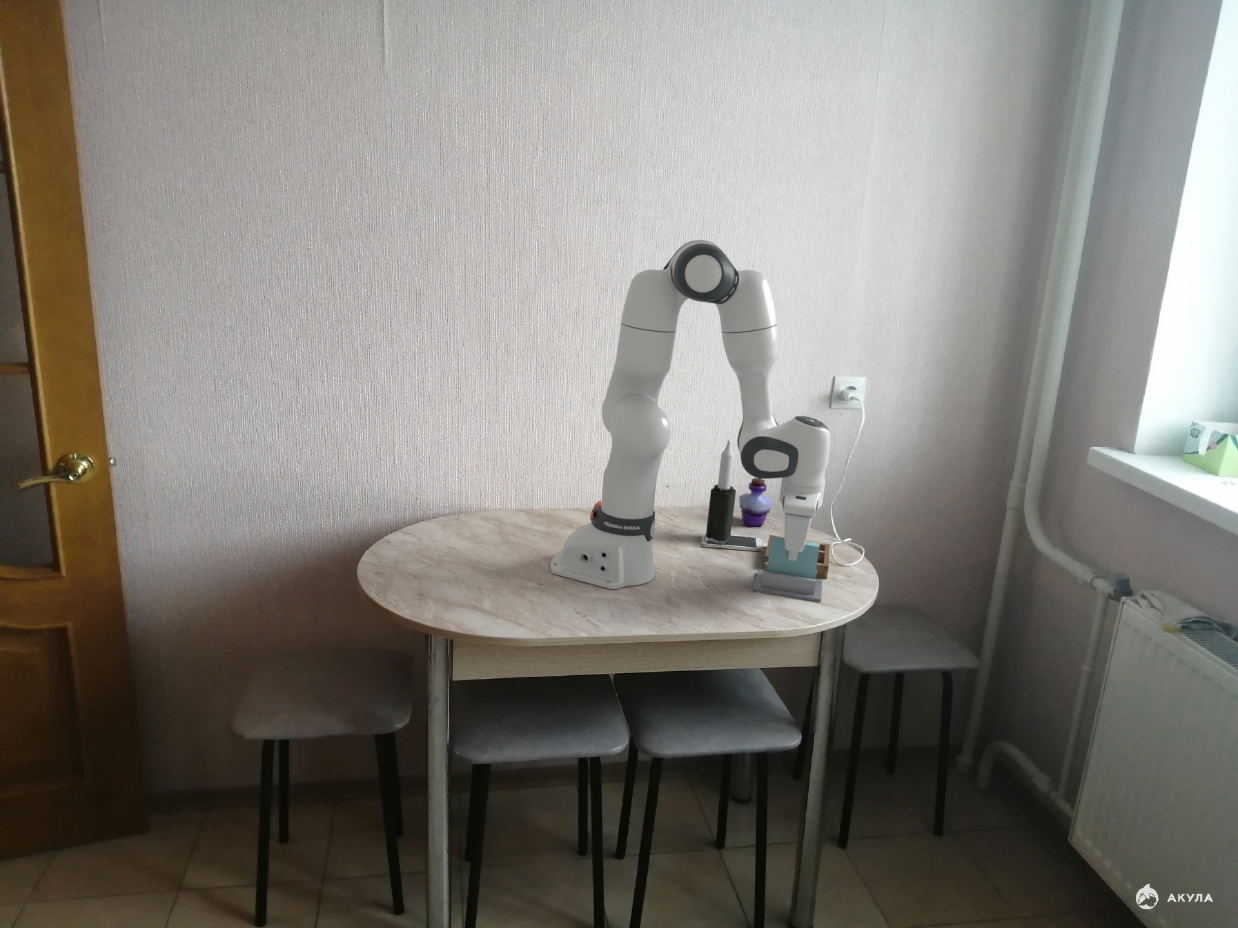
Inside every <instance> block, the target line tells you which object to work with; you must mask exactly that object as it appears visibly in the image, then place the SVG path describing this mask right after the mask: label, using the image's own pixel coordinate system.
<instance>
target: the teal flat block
mask: <svg viewBox="0 0 1238 928" xmlns="http://www.w3.org/2000/svg"><path fill="white" fill-rule="evenodd" d="M774 536H775V535H774ZM774 536H772V538H771V545H770V552H769V560H768V568H767V572H773V573H779V574H786V575H792V576H798V577H804V578H810V579H815V573H816V566H817V559H818V553H819V545H820V543H821V542H819V543H813V542H814V541H812V542H807V541H808V540H806V543H805V546H804V549H803V551H802V552H798V555H797V560H796V561H793V560H789V559H788V556H789V551H787V550H786V549H785V538H780V537H781V536H780V537H774Z"/></svg>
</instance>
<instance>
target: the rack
mask: <svg viewBox="0 0 1238 928" xmlns="http://www.w3.org/2000/svg"><path fill="white" fill-rule="evenodd" d="M772 536H774V537H780V538H785V536H781V535H780V536H779V535H772V534H769V537H768V541H767V546H766V550H765V554H764V560H763V568H762V569H763V570H764V569H765V562H767V563H768V560H769V552H770V545H771V538H772ZM806 541H807V542H813V543H820V545H819V553H818V559H817V566H816V571H817V574H816V578H818V579H824V580H825V579H828V573H829V565H830V544H831V543H830V544H829V543H824V542H817V541H811V540H806Z"/></svg>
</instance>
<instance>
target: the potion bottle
mask: <svg viewBox="0 0 1238 928" xmlns="http://www.w3.org/2000/svg"><path fill="white" fill-rule="evenodd" d="M765 480H766V479H760V478H756V477H753V478H752V479H751V482H750V483H748V489H749V490H750V493H743V494H741V495H739V496H738V499H739V501H738V502H739V509H741V511H740V512H741V520H742V521H741V523H742V522H743V523H744V525H747V526H750V527H761V526H762V525H763V526H764V524H765V521H766V519H767V516H768V514H769V513H770V511H771V508H772V505H773V503H774V501H773V499H772V498H771V497H770V496H767V495H763V494H764V492H766V491H767V488H768V487H767V484H766V481H765ZM744 525H743V526H744ZM747 526H746V527H747ZM750 527H749V528H750ZM761 528H762V527H761Z"/></svg>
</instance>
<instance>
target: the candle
mask: <svg viewBox="0 0 1238 928" xmlns="http://www.w3.org/2000/svg"><path fill="white" fill-rule="evenodd" d="M731 443H732V440H730V439H728V440H727V444H726V446H725V448H724V450H723V451H722V452H721V454H720V462H719V472H718V481H717V484H715V485H714V486H713V488H711V489H710V496H709V505H708V506H709V507H708V514H707V520H706V521H707V522H706V531H705V538H706V537H708V538H713V539H715V540H718V541H726V540H727V539H728V538H729V537H730V538H731V536H732V535H731V534H732V527H733V518H734V509H735V502H736V495H737V494H736V492H737V490H736V489H735V488H734V487H733V486H731V485H732V484H731V483H732V474H733V468H734V467H733V466H734V457H735V454H734V452H733V449H732V445H731Z"/></svg>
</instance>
